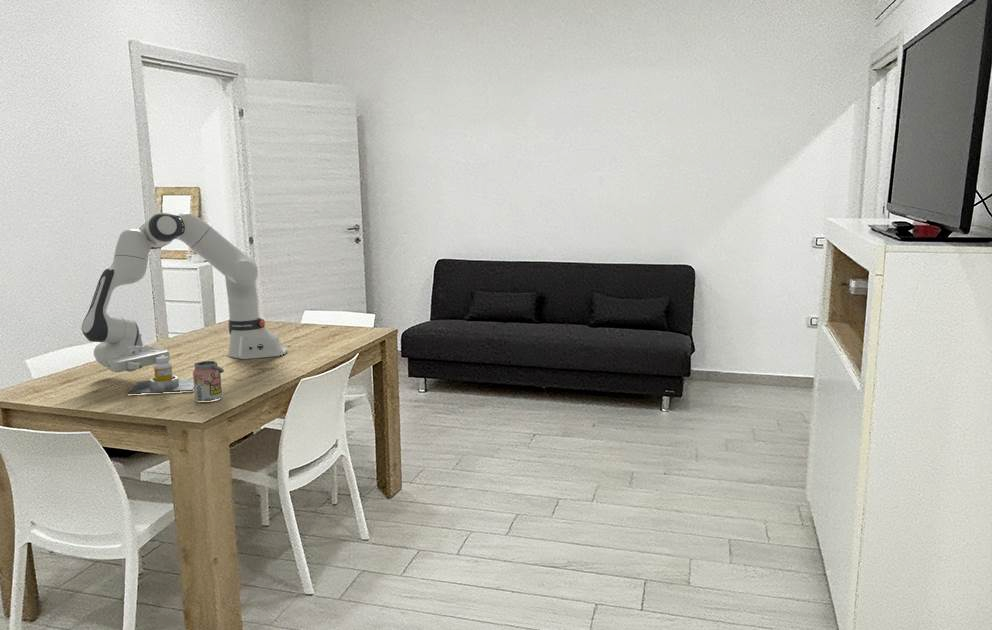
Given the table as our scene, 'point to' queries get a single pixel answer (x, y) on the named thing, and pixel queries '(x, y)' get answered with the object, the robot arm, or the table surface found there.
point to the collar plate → (163, 386)
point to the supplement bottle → (163, 369)
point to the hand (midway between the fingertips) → (152, 363)
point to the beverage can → (207, 381)
